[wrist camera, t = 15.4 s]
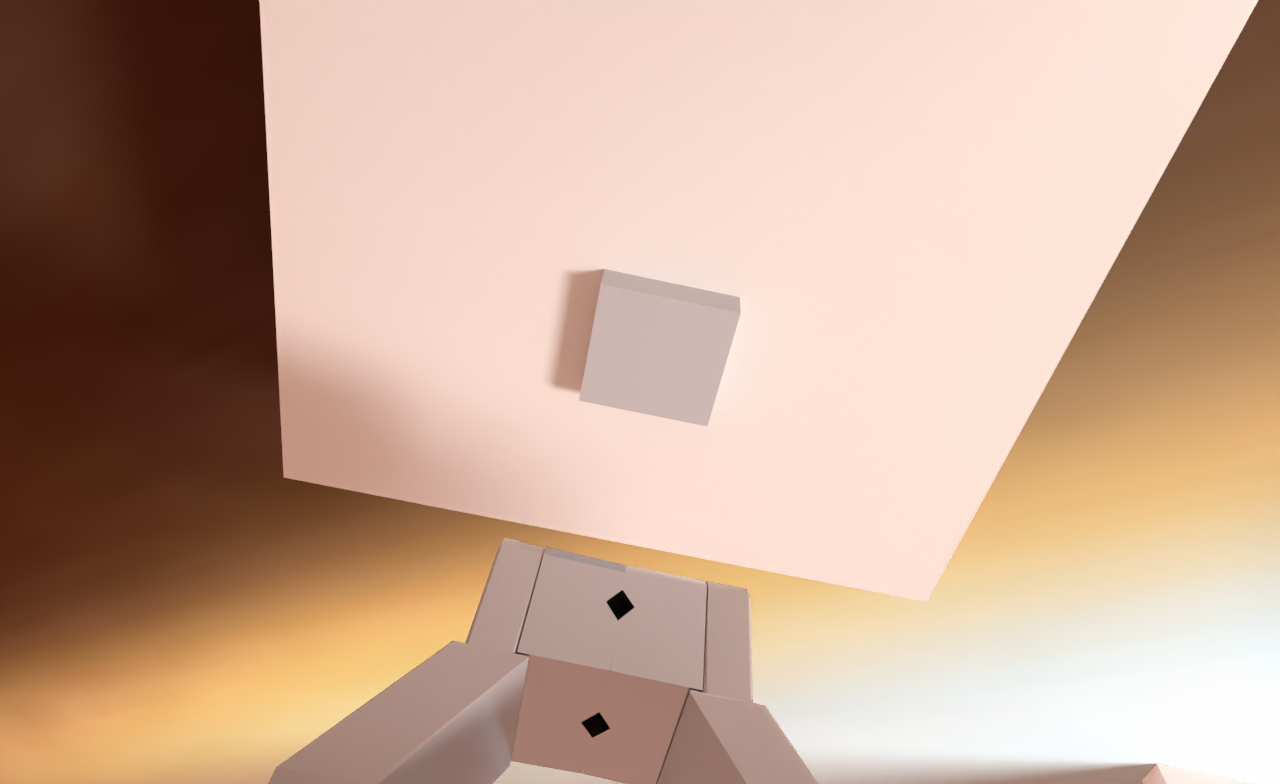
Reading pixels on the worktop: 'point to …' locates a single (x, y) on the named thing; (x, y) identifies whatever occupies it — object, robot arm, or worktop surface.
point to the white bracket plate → (1184, 777)
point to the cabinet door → (705, 254)
